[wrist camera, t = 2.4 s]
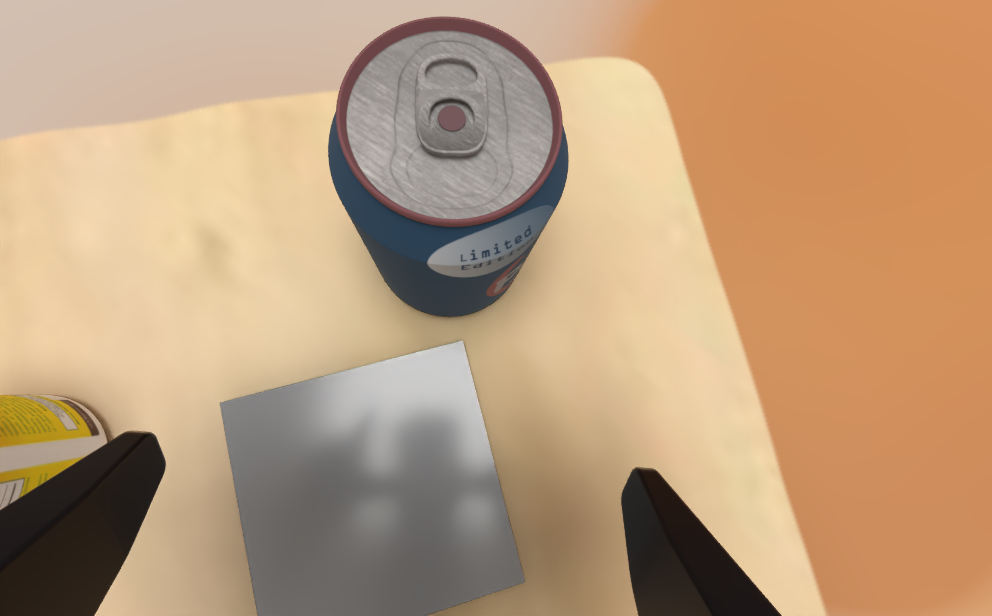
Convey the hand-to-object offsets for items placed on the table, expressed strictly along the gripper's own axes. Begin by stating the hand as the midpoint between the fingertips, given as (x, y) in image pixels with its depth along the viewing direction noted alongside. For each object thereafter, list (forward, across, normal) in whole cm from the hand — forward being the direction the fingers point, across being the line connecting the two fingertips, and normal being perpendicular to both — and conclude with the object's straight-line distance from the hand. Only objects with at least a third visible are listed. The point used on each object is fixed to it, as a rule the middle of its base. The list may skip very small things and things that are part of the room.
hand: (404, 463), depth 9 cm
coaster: (+7, +2, +12) cm, 14 cm away
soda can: (+16, 0, +4) cm, 16 cm away
